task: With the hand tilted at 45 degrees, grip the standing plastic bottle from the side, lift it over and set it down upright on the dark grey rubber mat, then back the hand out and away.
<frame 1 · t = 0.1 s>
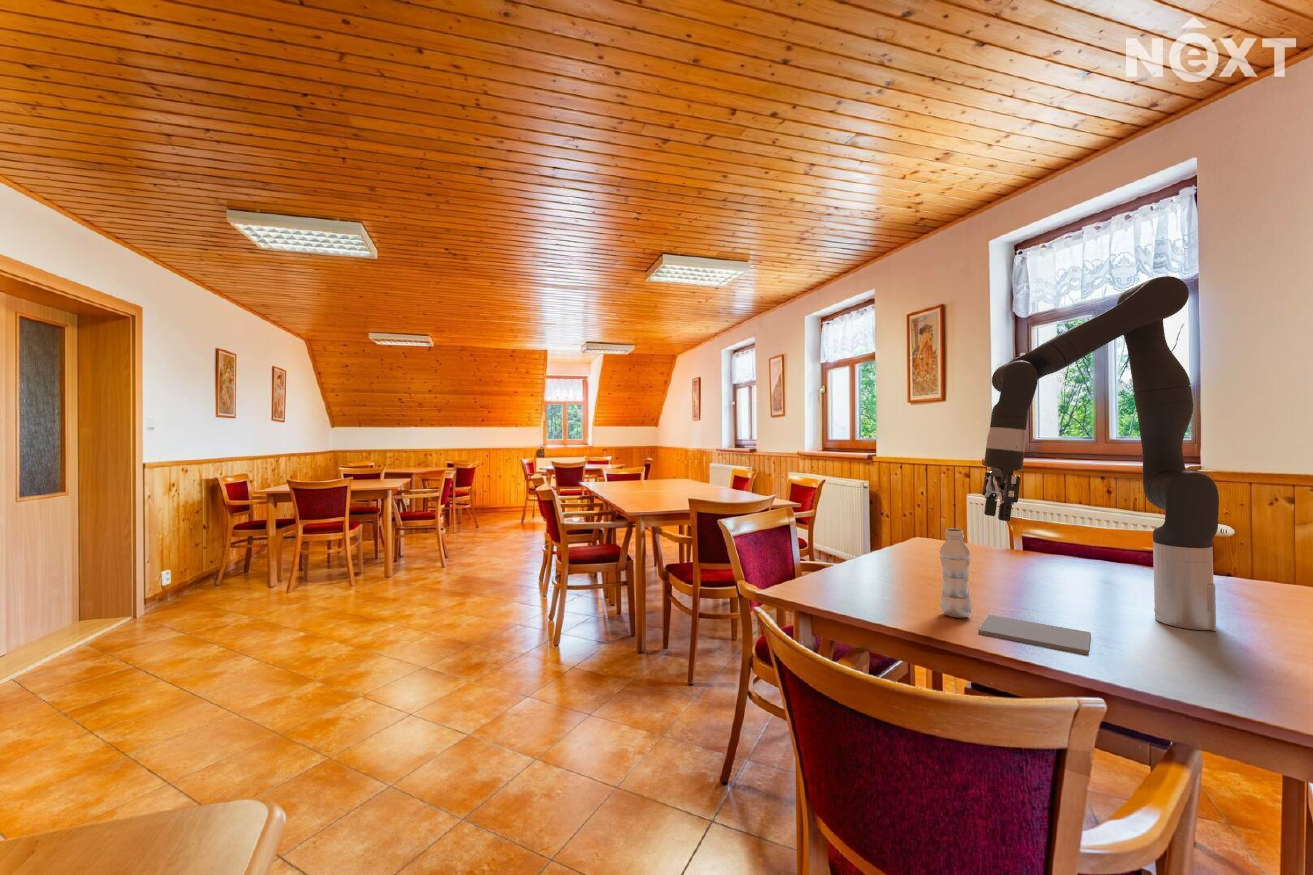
hand: (996, 517, 123), 23 cm above the table, tool pointing down, fingers open, 8 cm apart
grey rubber mat: (1034, 634, 111), on the table
plastic bottle: (956, 617, 123), on the table
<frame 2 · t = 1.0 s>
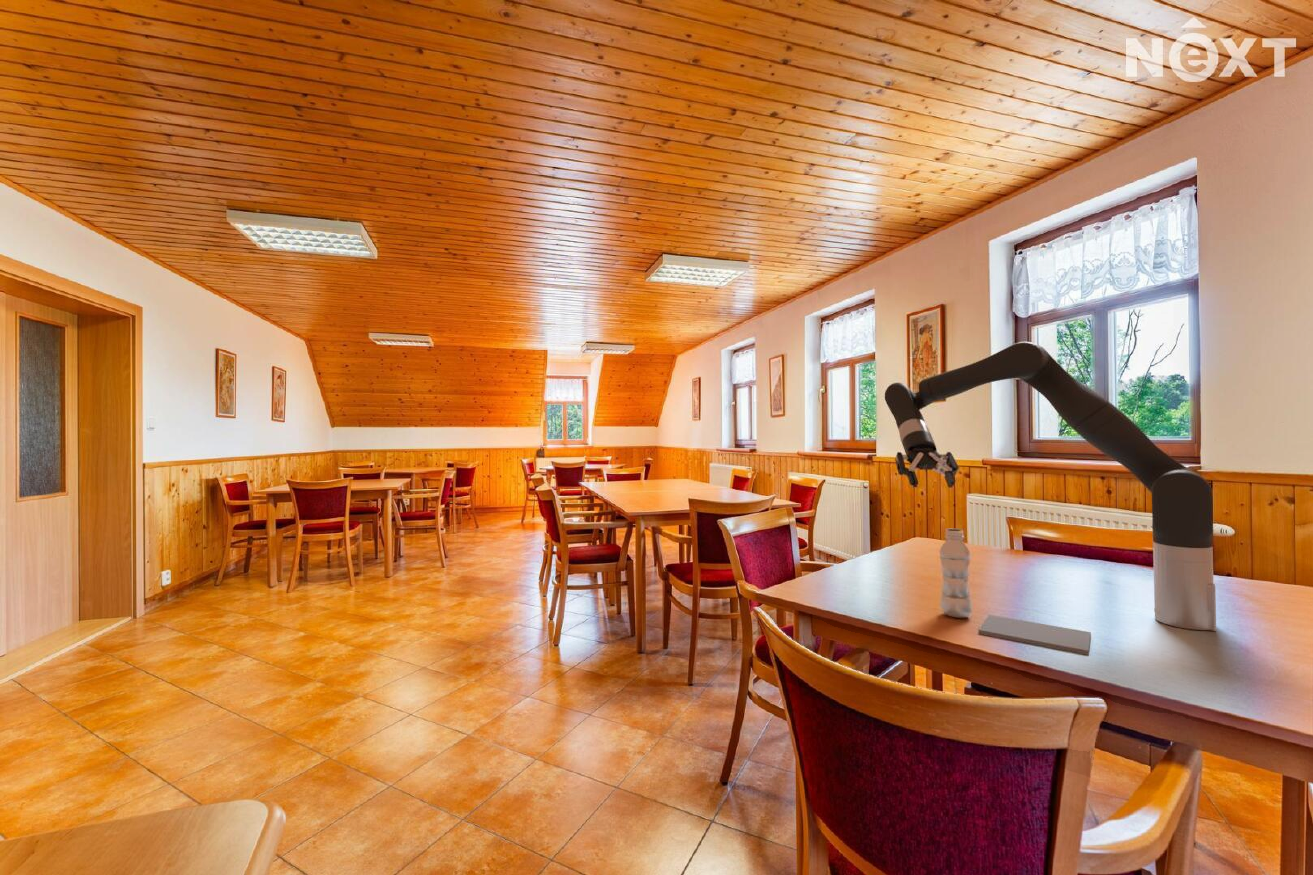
hand: (933, 485, 134), 29 cm above the table, tool tilted 45°, fingers open, 8 cm apart
nothing on the table moved.
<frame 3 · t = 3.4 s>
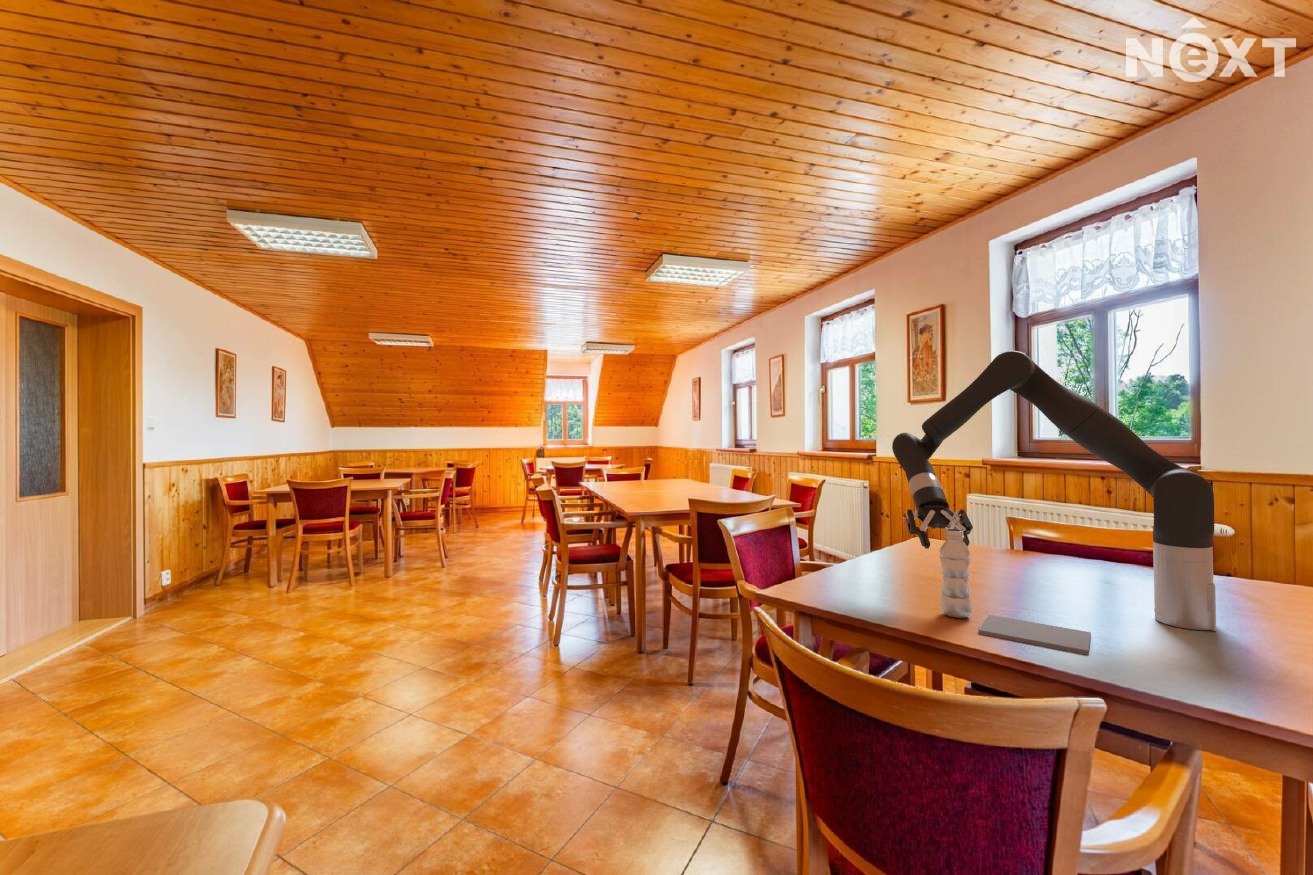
hand: (946, 547, 127), 15 cm above the table, tool tilted 45°, fingers open, 8 cm apart
nothing on the table moved.
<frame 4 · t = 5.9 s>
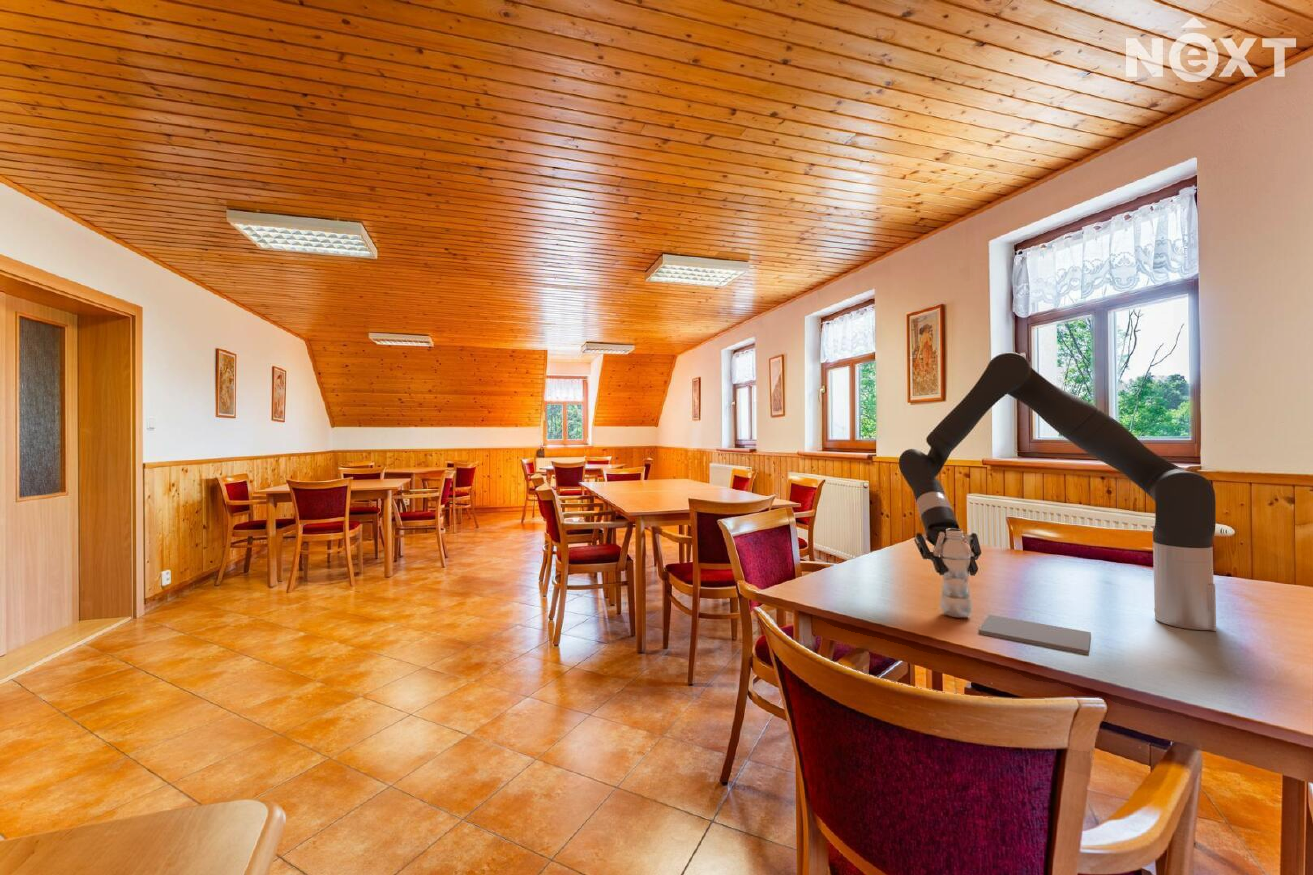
hand: (958, 573, 121), 10 cm above the table, tool tilted 45°, fingers closed on plastic bottle, 6 cm apart
plastic bottle: (956, 617, 123), on the table, touching gripper
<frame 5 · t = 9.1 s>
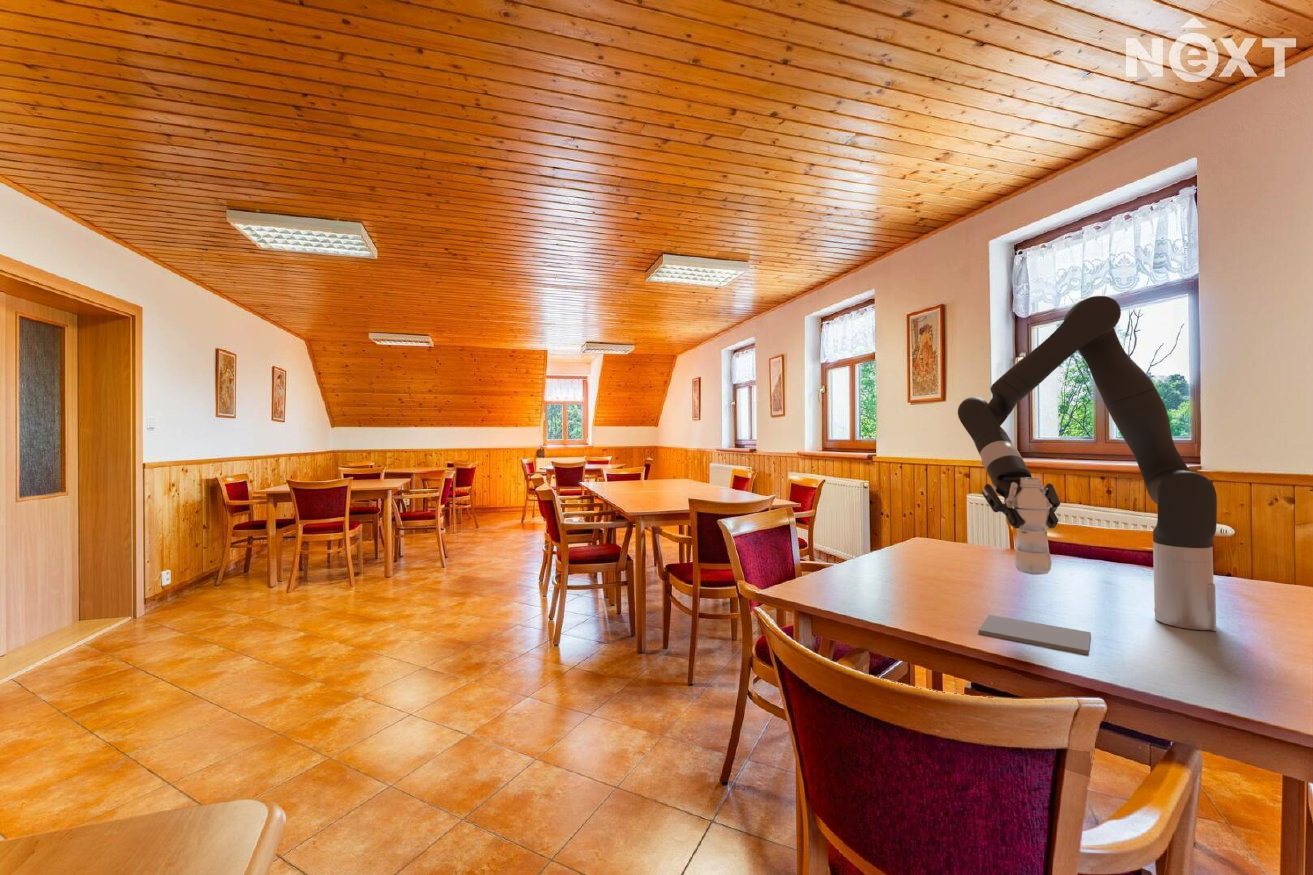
hand: (1036, 525, 109), 23 cm above the table, tool tilted 45°, fingers closed on plastic bottle, 6 cm apart
plastic bottle: (1032, 574, 111), point 12 cm above the table, touching gripper
when the fingers open (12 cm above the table, at t = 12.5 s): plastic bottle drops 1 cm, resting on grey rubber mat.
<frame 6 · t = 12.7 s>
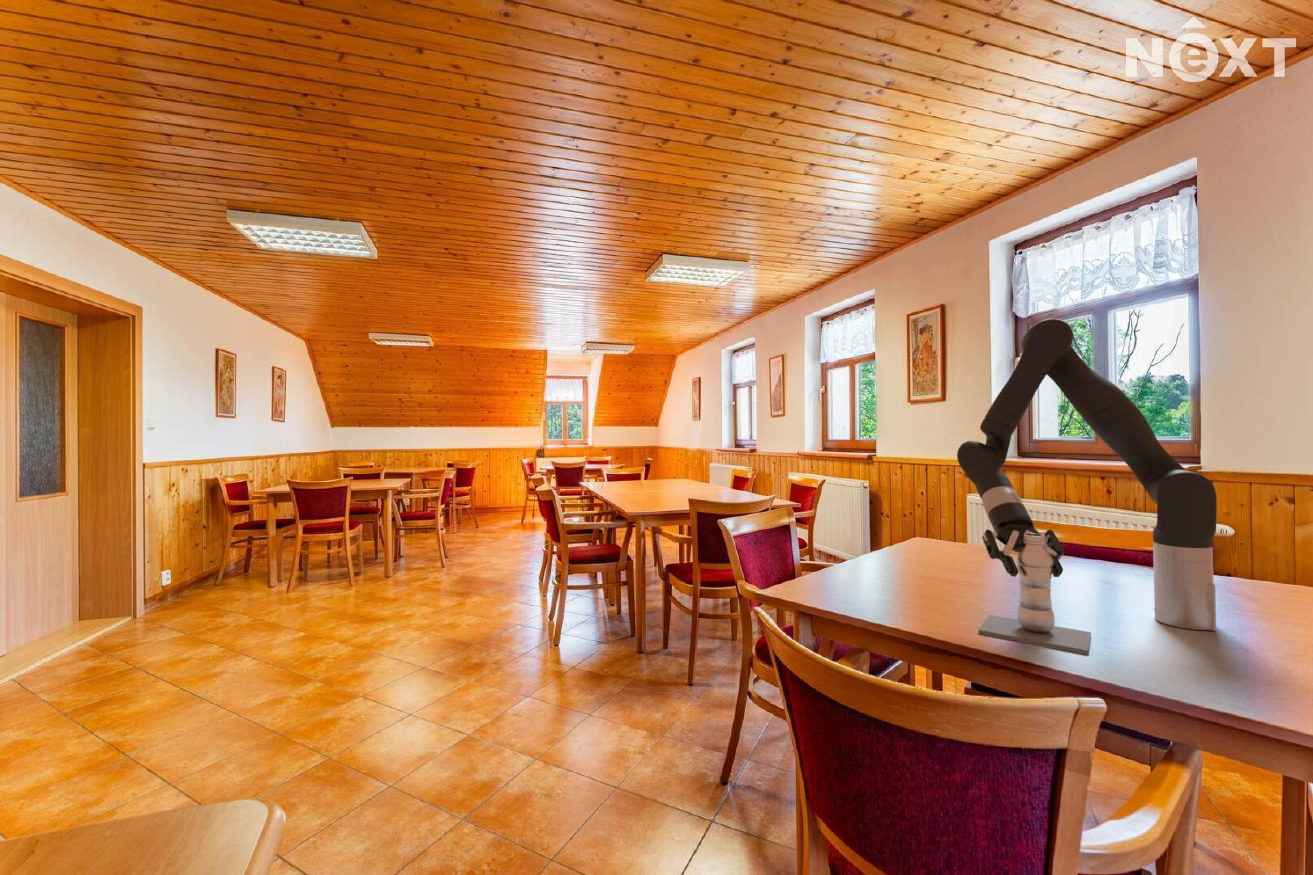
hand: (1036, 574, 109), 13 cm above the table, tool tilted 45°, fingers open, 8 cm apart
plastic bottle: (1035, 631, 111), point 1 cm above the table, touching grey rubber mat
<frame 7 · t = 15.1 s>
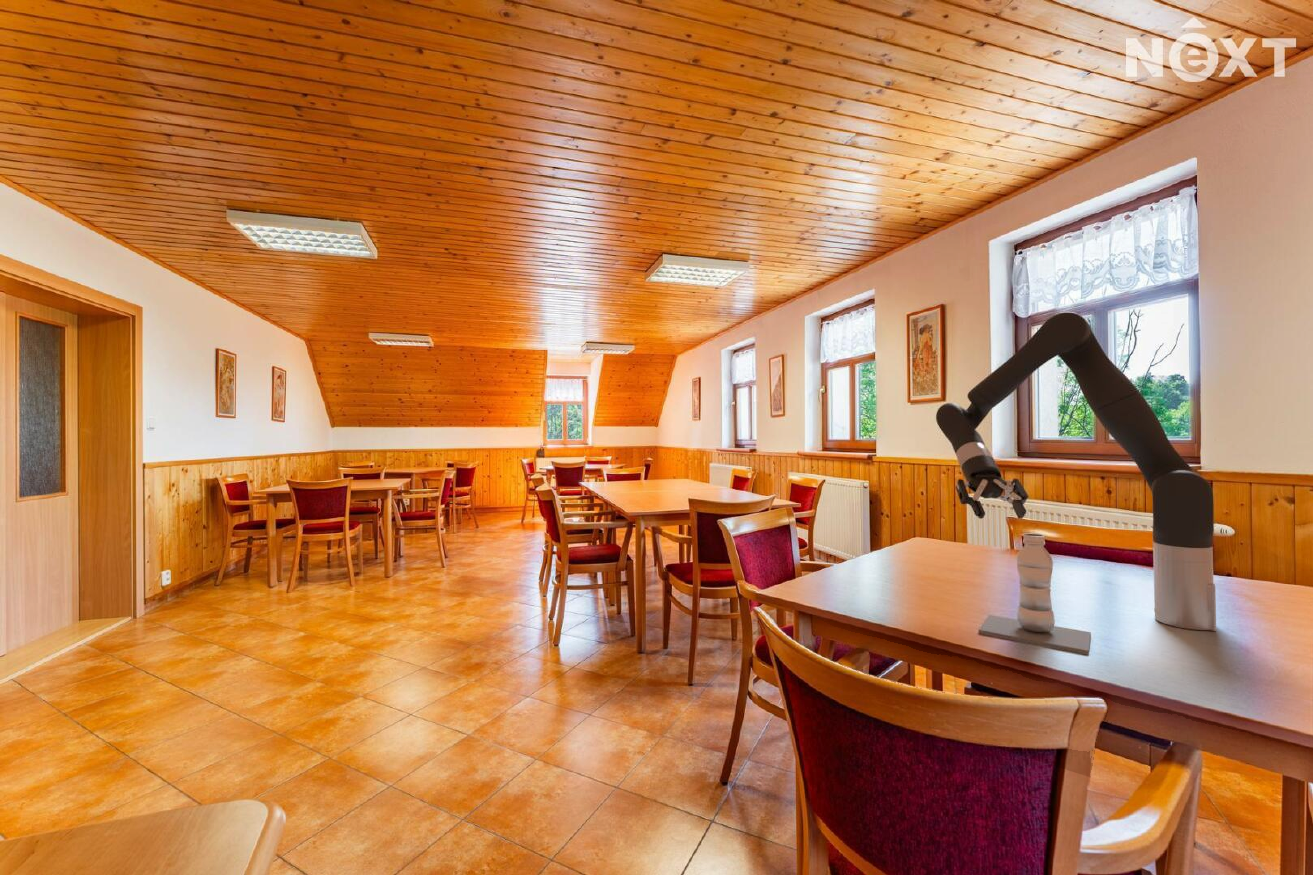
hand: (1002, 516, 122), 23 cm above the table, tool tilted 45°, fingers open, 8 cm apart
nothing on the table moved.
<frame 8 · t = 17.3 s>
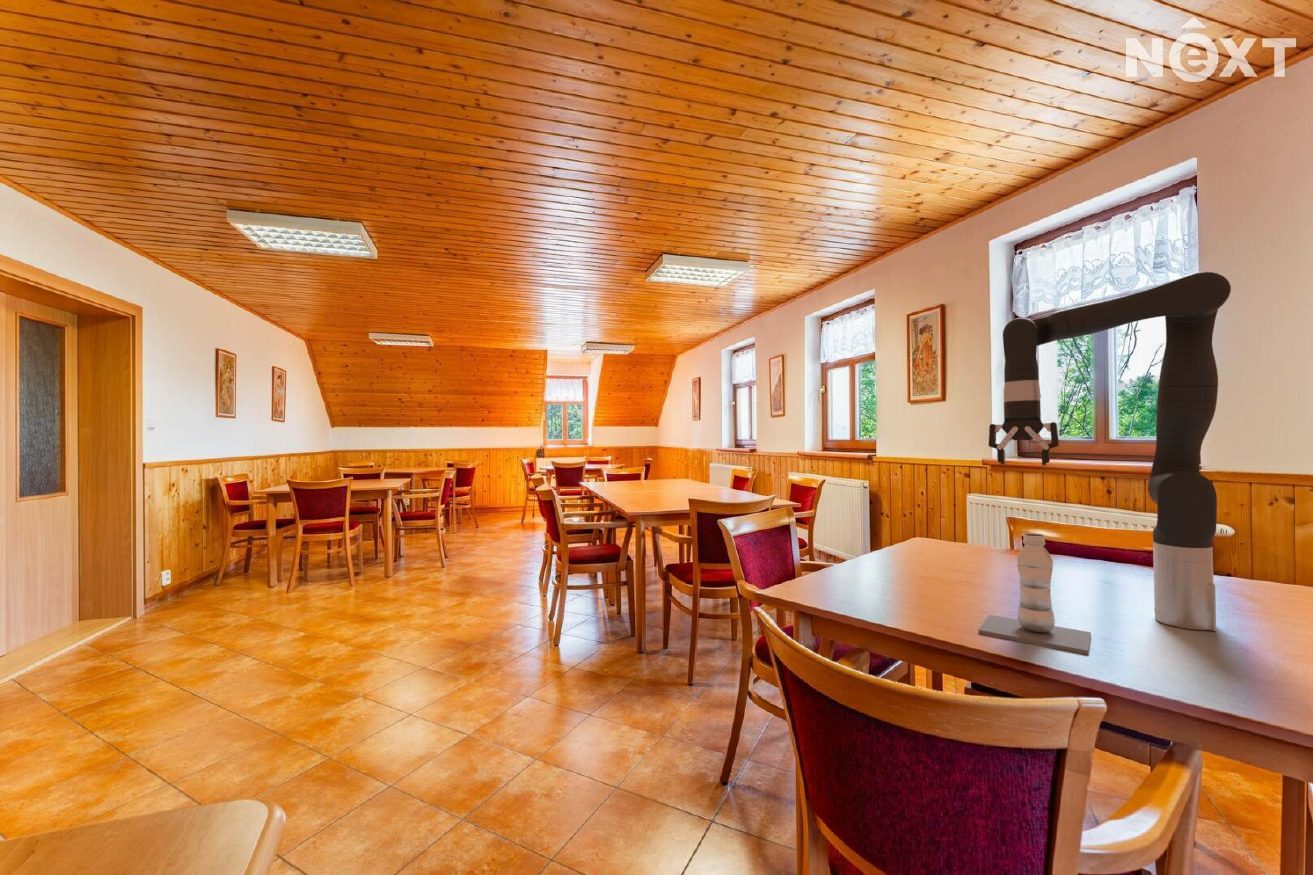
hand: (1023, 464, 132), 34 cm above the table, tool pointing down, fingers open, 8 cm apart
nothing on the table moved.
at the end: plastic bottle inside the target area on the grey rubber mat (0.6 cm from its centre), point 0.6 cm above the grey rubber mat's base; plastic bottle tilted 0°; the gripper is holding nothing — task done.
